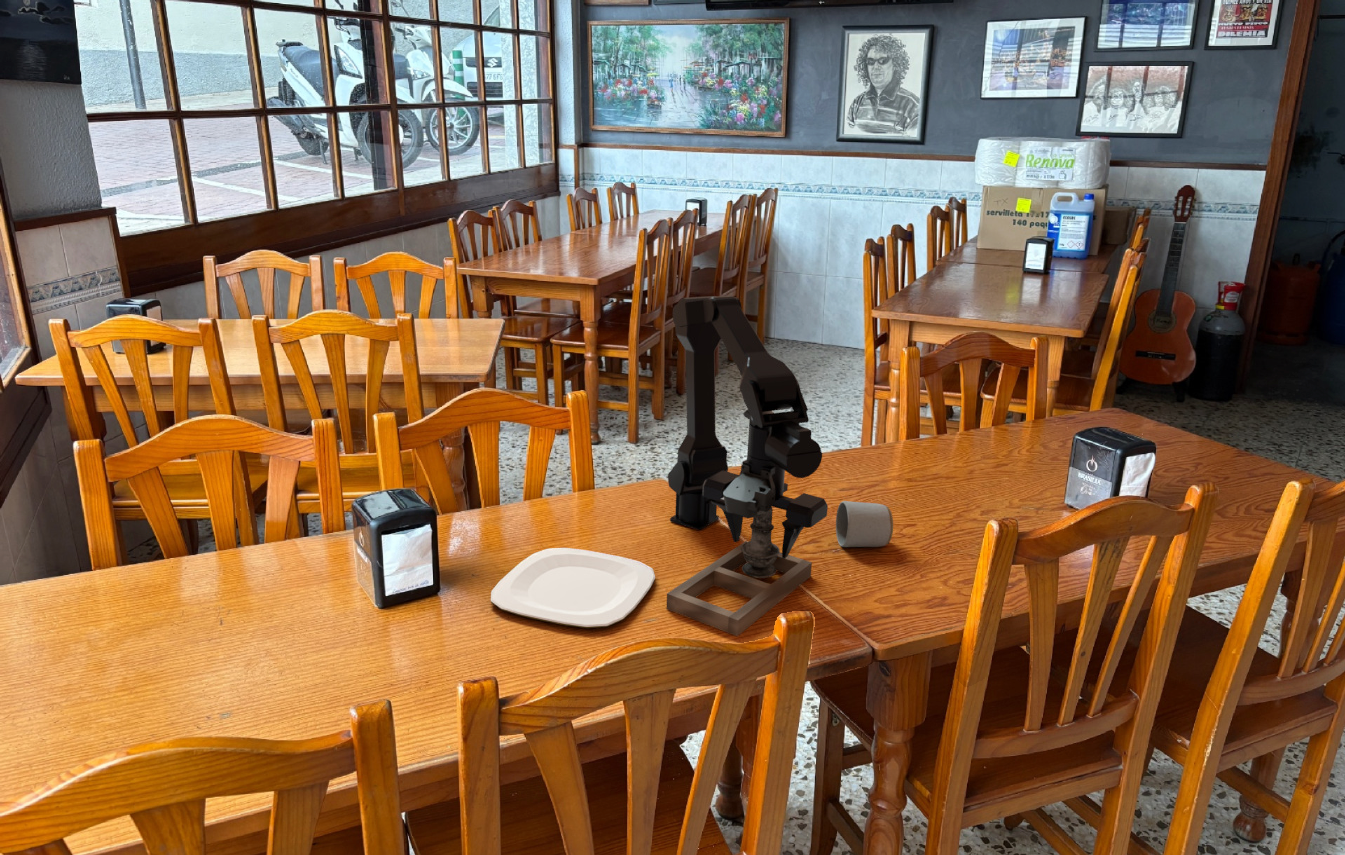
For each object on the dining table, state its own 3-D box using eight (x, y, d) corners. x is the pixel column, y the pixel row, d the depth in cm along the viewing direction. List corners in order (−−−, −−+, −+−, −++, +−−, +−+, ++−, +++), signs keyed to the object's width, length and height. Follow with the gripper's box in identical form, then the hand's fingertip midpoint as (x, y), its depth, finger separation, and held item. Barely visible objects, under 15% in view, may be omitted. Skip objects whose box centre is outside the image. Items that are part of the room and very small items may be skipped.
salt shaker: (735, 562, 144) (739, 492, 140) (770, 559, 145) (775, 489, 141) (746, 580, 138) (751, 507, 135) (783, 577, 140) (789, 504, 136)
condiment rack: (666, 608, 133) (666, 593, 132) (744, 554, 150) (745, 541, 149) (737, 636, 127) (737, 620, 126) (810, 576, 144) (811, 562, 143)
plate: (667, 573, 144) (667, 564, 144) (614, 644, 125) (614, 633, 124) (542, 550, 151) (542, 541, 150) (473, 613, 131) (473, 603, 131)
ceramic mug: (893, 554, 152) (897, 511, 150) (844, 554, 151) (848, 511, 149) (873, 527, 162) (877, 487, 160) (828, 528, 161) (831, 487, 159)
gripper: (683, 454, 134) (680, 550, 139) (797, 485, 124) (788, 588, 129) (724, 434, 143) (719, 526, 148) (833, 462, 133) (824, 559, 138)
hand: (760, 549), depth 141 cm, fingers closed on salt shaker, 8 cm apart
